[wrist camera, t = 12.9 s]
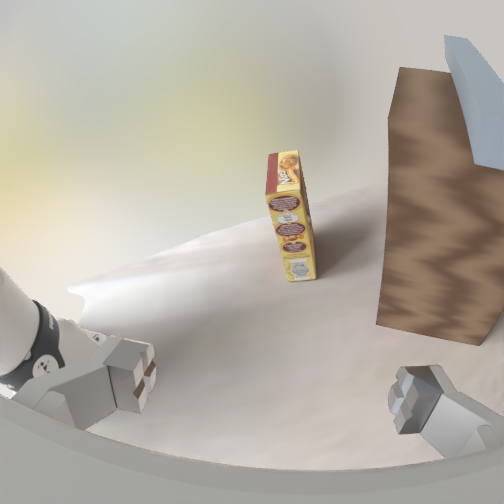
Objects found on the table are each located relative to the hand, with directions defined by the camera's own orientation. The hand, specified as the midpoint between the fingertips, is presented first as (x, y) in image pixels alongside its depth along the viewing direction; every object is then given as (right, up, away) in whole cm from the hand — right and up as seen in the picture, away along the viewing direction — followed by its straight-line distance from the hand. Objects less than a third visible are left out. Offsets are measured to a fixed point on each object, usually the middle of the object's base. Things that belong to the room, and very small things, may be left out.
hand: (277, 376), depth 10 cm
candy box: (+6, +3, +38) cm, 38 cm away
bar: (+18, +18, +10) cm, 27 cm away
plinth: (+23, -1, +28) cm, 36 cm away
